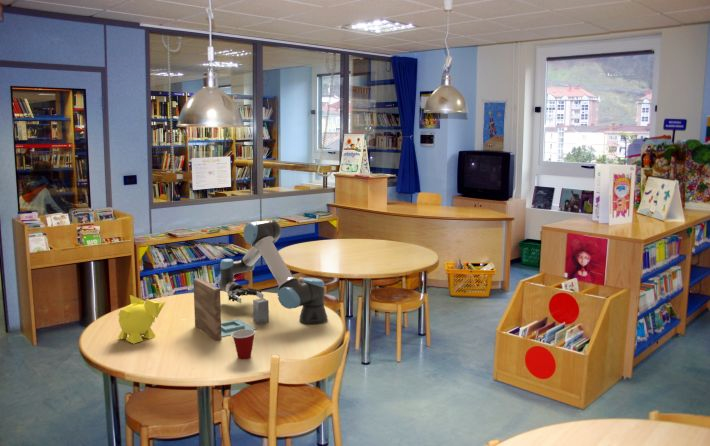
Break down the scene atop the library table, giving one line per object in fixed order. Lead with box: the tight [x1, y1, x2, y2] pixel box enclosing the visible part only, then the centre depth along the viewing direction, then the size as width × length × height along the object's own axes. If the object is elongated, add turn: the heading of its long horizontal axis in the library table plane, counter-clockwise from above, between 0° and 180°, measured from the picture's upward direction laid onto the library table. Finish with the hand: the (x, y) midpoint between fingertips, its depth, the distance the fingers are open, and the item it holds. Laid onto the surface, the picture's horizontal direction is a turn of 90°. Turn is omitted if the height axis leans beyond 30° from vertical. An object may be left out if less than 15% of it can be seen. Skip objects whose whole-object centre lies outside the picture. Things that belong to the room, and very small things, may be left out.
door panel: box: [192, 277, 223, 341], centre depth 311 cm, size 4×26×26 cm, turn 37°
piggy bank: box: [117, 294, 166, 345], centre depth 305 cm, size 20×20×19 cm
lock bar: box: [252, 297, 270, 325], centre depth 330 cm, size 6×6×12 cm
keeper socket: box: [221, 318, 257, 338], centre depth 321 cm, size 20×20×2 cm
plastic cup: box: [230, 329, 256, 360], centre depth 280 cm, size 11×11×12 cm
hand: (251, 298), depth 338 cm, fingers open, 13 cm apart
